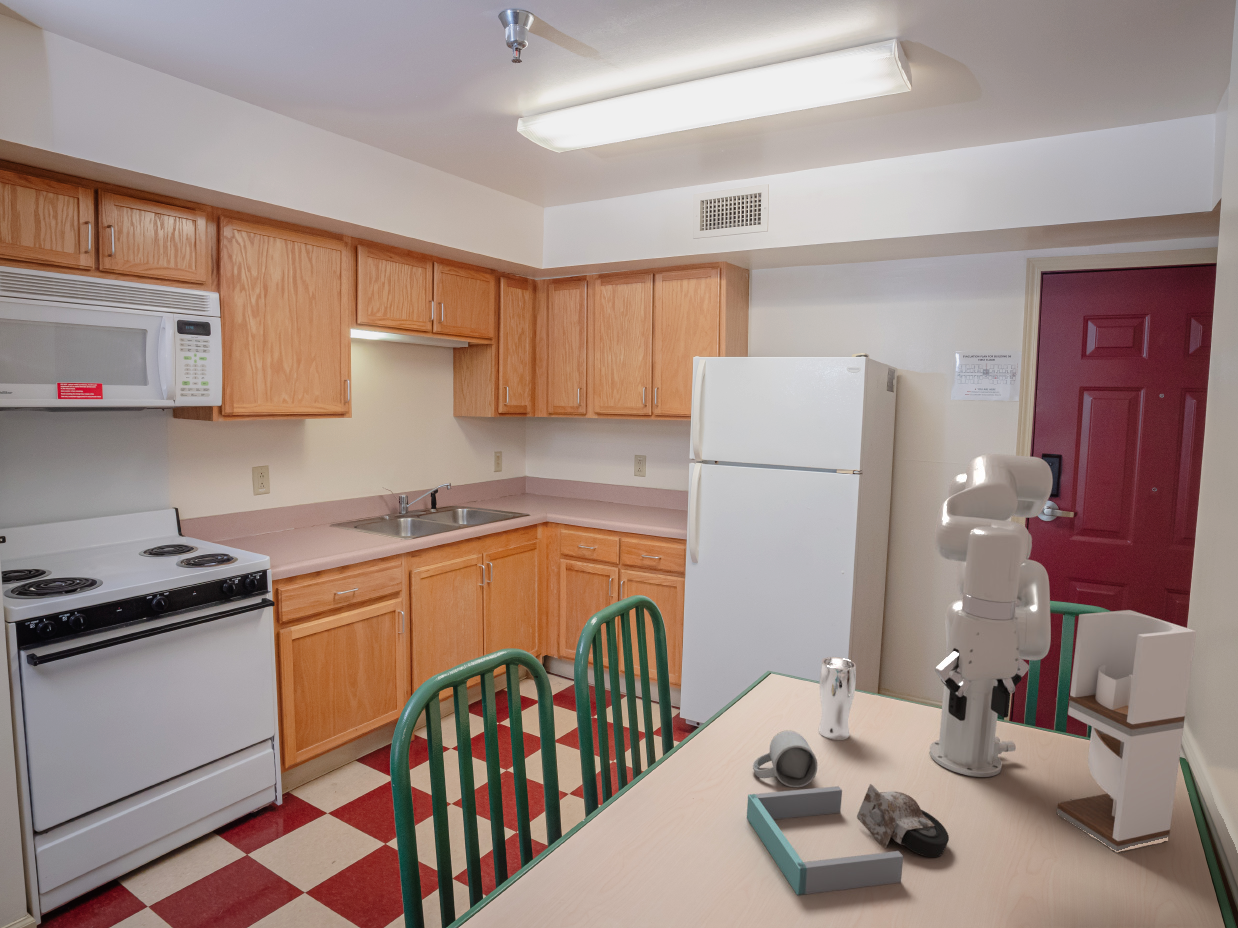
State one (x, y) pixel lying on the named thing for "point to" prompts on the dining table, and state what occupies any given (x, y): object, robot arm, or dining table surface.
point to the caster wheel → (902, 822)
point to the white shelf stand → (1130, 722)
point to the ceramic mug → (788, 760)
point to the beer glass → (836, 696)
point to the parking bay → (818, 872)
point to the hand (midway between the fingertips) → (977, 714)
